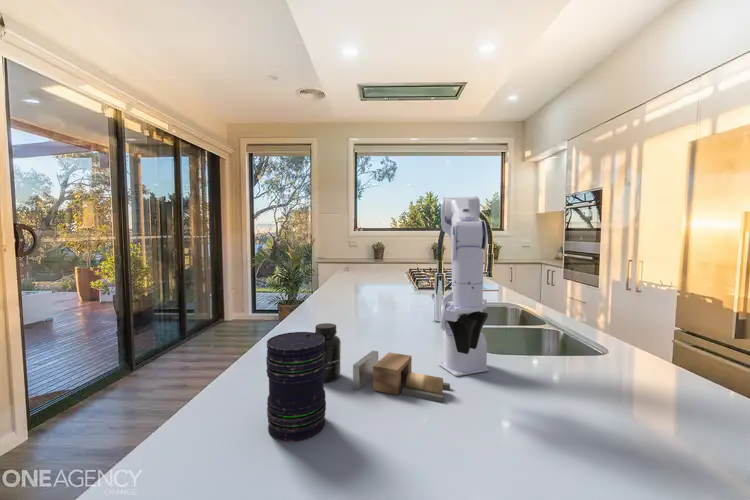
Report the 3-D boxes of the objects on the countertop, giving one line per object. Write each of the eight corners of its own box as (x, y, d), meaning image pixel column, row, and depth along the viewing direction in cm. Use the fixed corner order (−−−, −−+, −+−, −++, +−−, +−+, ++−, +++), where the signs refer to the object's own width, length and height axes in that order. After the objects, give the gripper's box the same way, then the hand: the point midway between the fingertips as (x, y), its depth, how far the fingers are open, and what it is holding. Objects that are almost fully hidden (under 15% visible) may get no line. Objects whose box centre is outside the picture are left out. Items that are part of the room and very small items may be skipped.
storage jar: (297, 450, 52) (296, 353, 51) (254, 430, 57) (253, 342, 56) (337, 420, 60) (337, 336, 60) (297, 405, 65) (296, 328, 65)
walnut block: (411, 378, 77) (411, 355, 77) (397, 395, 69) (397, 370, 69) (389, 374, 80) (389, 352, 79) (373, 390, 71) (373, 365, 71)
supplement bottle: (335, 384, 75) (335, 330, 74) (306, 381, 76) (305, 328, 75) (344, 372, 81) (344, 322, 81) (317, 369, 83) (316, 321, 82)
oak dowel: (443, 389, 72) (442, 374, 71) (439, 400, 68) (438, 384, 68) (411, 383, 74) (410, 368, 74) (406, 393, 71) (405, 378, 70)
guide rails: (449, 388, 73) (449, 383, 73) (442, 402, 66) (442, 397, 66) (412, 381, 76) (412, 376, 76) (402, 394, 70) (402, 389, 70)
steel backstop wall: (378, 371, 81) (378, 351, 81) (359, 389, 72) (359, 366, 72) (372, 370, 82) (372, 350, 82) (353, 387, 73) (352, 365, 73)
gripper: (464, 277, 75) (464, 337, 76) (431, 284, 64) (430, 355, 65) (496, 279, 71) (495, 344, 71) (466, 288, 59) (465, 364, 60)
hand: (466, 350), depth 68 cm, fingers open, 3 cm apart
